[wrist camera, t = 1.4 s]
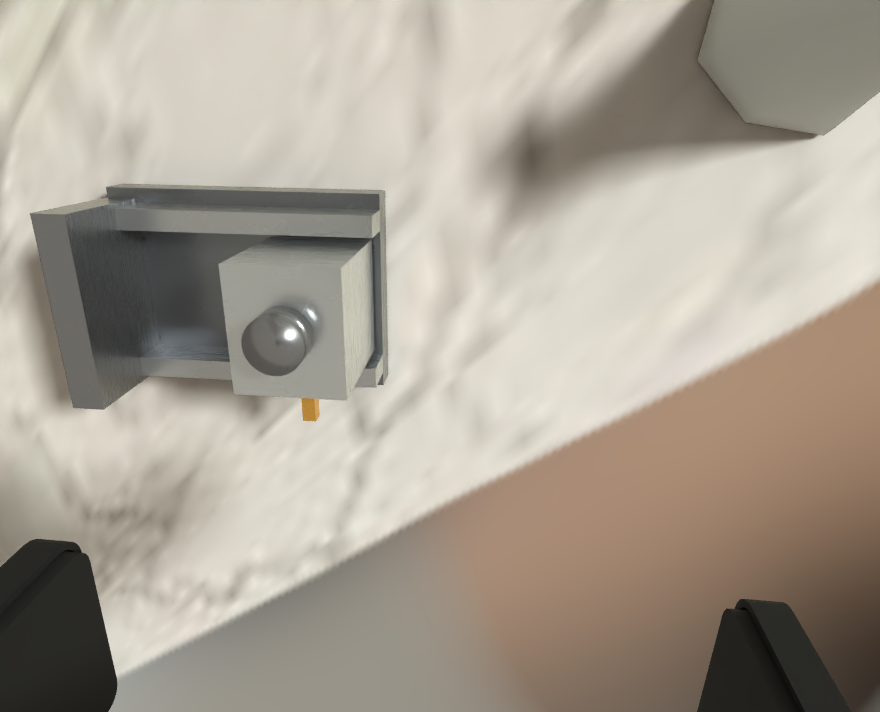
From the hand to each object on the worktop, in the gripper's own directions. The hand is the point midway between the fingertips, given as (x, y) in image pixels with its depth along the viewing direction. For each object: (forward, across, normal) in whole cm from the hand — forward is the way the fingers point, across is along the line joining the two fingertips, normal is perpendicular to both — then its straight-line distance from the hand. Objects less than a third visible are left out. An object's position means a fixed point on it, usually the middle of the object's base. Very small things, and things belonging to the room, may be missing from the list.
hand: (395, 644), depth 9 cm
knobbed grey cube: (+17, +5, +1) cm, 18 cm away
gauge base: (+18, +9, 0) cm, 20 cm away
